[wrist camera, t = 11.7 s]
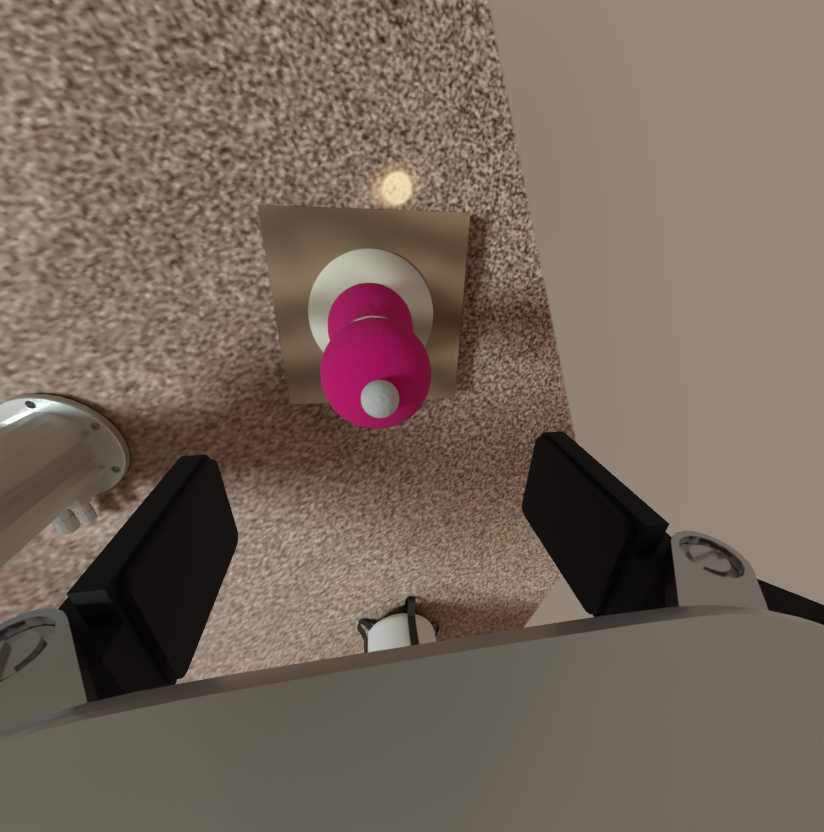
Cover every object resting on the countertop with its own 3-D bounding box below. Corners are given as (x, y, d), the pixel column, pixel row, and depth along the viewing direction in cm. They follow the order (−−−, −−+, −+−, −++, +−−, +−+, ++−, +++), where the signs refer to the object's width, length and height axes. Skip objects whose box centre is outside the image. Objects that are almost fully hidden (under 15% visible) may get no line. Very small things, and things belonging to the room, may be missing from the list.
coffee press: (366, 590, 54) (373, 916, 28) (452, 601, 59) (528, 890, 32) (336, 651, 61) (318, 963, 34) (416, 657, 65) (454, 935, 39)
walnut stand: (449, 389, 40) (455, 398, 37) (294, 395, 37) (289, 405, 35) (462, 215, 32) (471, 212, 29) (265, 208, 29) (256, 204, 27)
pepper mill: (336, 357, 33) (310, 482, 16) (326, 279, 30) (278, 328, 12) (407, 352, 34) (458, 466, 17) (405, 276, 31) (465, 318, 13)
